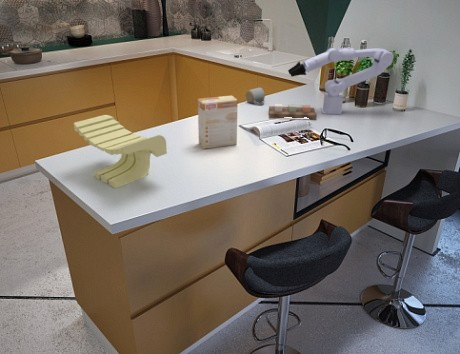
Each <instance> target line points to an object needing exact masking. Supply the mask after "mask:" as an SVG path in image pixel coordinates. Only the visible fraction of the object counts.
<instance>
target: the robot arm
mask: <svg viewBox="0 0 460 354" xmlns="http://www.w3.org/2000/svg"><path fill="white" fill-rule="evenodd" d="M363 57H364V58H368V57H369V58H373V63H372V65H371V66H370V67H367V68H364V69H363V70H360V71H358V72H355V73H352V74H349V75H347V76H344V77H343V78H337V79H336V78H335V79H328V80H327V81H325V83H324V90H325V92H324V94H323V104H322V108H320V110H321V114H324V115H325V114H327V115H342V110H343V103H344V97H343V95H340V94H341V93H342V92H344V91H345V90H346V89H347V88H350V87H352V86H354V85H357V84H360V83H362V82H365V81H367V80H370V79H372V78H375V77H377V76H379V75H381V74H382V73H383V72H384V71H385V70H386V69H387V68H388V67H389V66H392V63H393V62H394V61H393V60H394V58H395V57H394V54H393V52H391V51H389V50H387V49H385V48H384V47H381V48H378V47H373V48H362V49H355V48H354V47H351V46H347V47H344V48H343V47H342V48H341V47H337V49H336V48H333V47H332V48H331V47H330V48H328V49H327V50H326V51H325V52H323V53H320V54H318V55H315V56H313V57H310V58H308V59H305V58H304V57H303V58H302V60H303V62H302V63H301V62H300V61H298V62H297V63H296V64H294V65H293V66H292V67H290V68H289V69H288V70H287V71H288V74H289V75H290V77H292V78H293V77H298V76H306V75H307V73H310V72H312V71H314V70H316V69H319V68H321V67H324V66H326V65H327V64H330V63H337V62H339V61H353V60H354V59H355V58H363Z"/></svg>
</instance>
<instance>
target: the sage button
mask: <svg viewBox="0 0 460 354" xmlns="http://www.w3.org/2000/svg"><path fill="white" fill-rule="evenodd" d="M287 107H288V112H296V110H297V107H298V106H297V104H288V106H287Z"/></svg>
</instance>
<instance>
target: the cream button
mask: <svg viewBox="0 0 460 354" xmlns="http://www.w3.org/2000/svg"><path fill="white" fill-rule="evenodd" d="M274 106H275V107H274V111H281V112H282V108H283V107H284V106H283V104H282V103H274Z"/></svg>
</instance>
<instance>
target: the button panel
mask: <svg viewBox="0 0 460 354" xmlns="http://www.w3.org/2000/svg"><path fill="white" fill-rule="evenodd" d="M274 107H275V105H272V106H271V105H268V119H276V118H284V117H292V118H304V117H307V118H309V119H310V120H309V121H317V116H318V115H317V112H316V110H315V108H314V107H311V112H310V113H308V112H302V107H301V106H300V107H299V106H297V110H296V112H288V106H283V108H282V112H281V111H274Z"/></svg>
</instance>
